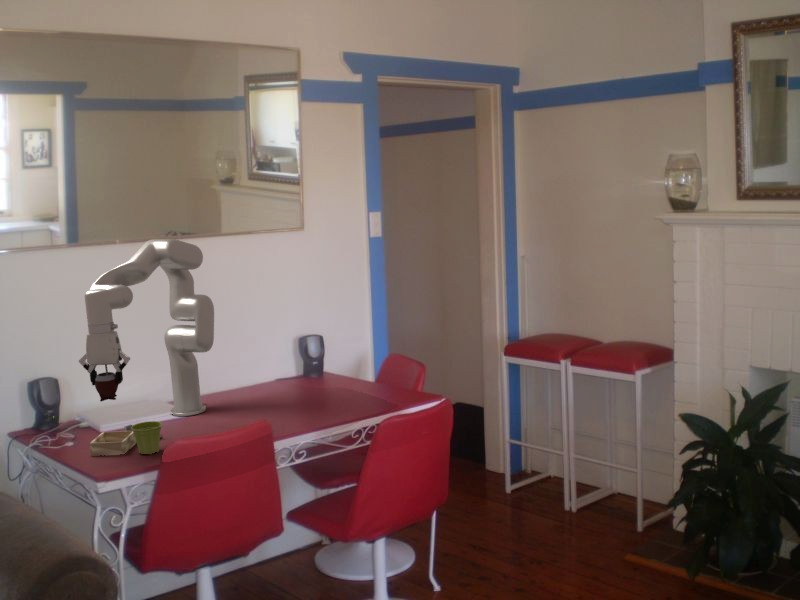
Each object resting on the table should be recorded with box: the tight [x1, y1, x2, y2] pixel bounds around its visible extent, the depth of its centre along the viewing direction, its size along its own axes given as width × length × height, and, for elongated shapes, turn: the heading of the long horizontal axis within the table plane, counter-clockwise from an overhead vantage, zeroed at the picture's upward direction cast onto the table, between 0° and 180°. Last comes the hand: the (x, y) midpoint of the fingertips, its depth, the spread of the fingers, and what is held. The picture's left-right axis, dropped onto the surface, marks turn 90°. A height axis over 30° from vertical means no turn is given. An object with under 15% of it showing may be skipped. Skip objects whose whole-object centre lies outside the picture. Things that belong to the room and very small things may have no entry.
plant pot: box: [131, 420, 163, 455], centre depth 295 cm, size 9×9×9 cm
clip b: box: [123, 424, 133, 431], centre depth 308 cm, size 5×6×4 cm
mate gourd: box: [94, 365, 119, 402], centre depth 296 cm, size 8×8×15 cm
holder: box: [89, 430, 137, 457], centre depth 300 cm, size 12×11×4 cm
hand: (107, 383), depth 297 cm, fingers closed on mate gourd, 7 cm apart
